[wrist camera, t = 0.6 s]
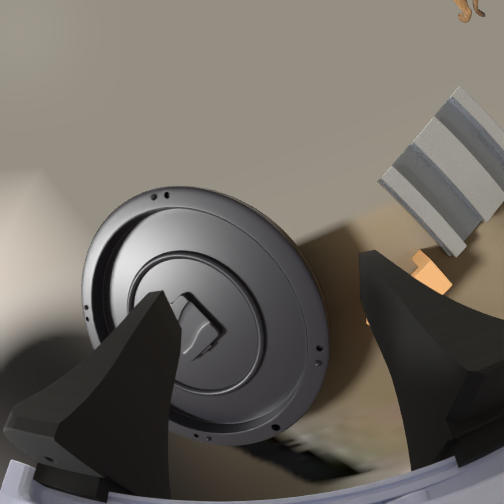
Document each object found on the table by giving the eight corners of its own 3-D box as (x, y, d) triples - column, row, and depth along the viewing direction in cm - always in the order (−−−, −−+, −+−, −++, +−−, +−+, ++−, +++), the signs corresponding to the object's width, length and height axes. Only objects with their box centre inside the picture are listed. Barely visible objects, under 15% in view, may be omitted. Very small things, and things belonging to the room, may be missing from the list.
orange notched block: (438, 270, 28) (452, 284, 23) (385, 323, 30) (388, 345, 25) (419, 249, 28) (431, 259, 23) (365, 303, 31) (366, 322, 26)
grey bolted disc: (84, 306, 44) (225, 449, 40) (55, 318, 38) (208, 475, 35) (186, 133, 34) (393, 321, 30) (155, 124, 28) (399, 347, 25)
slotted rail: (520, 164, 23) (531, 162, 20) (447, 255, 27) (454, 260, 25) (454, 91, 24) (461, 83, 22) (377, 181, 28) (379, 180, 26)
